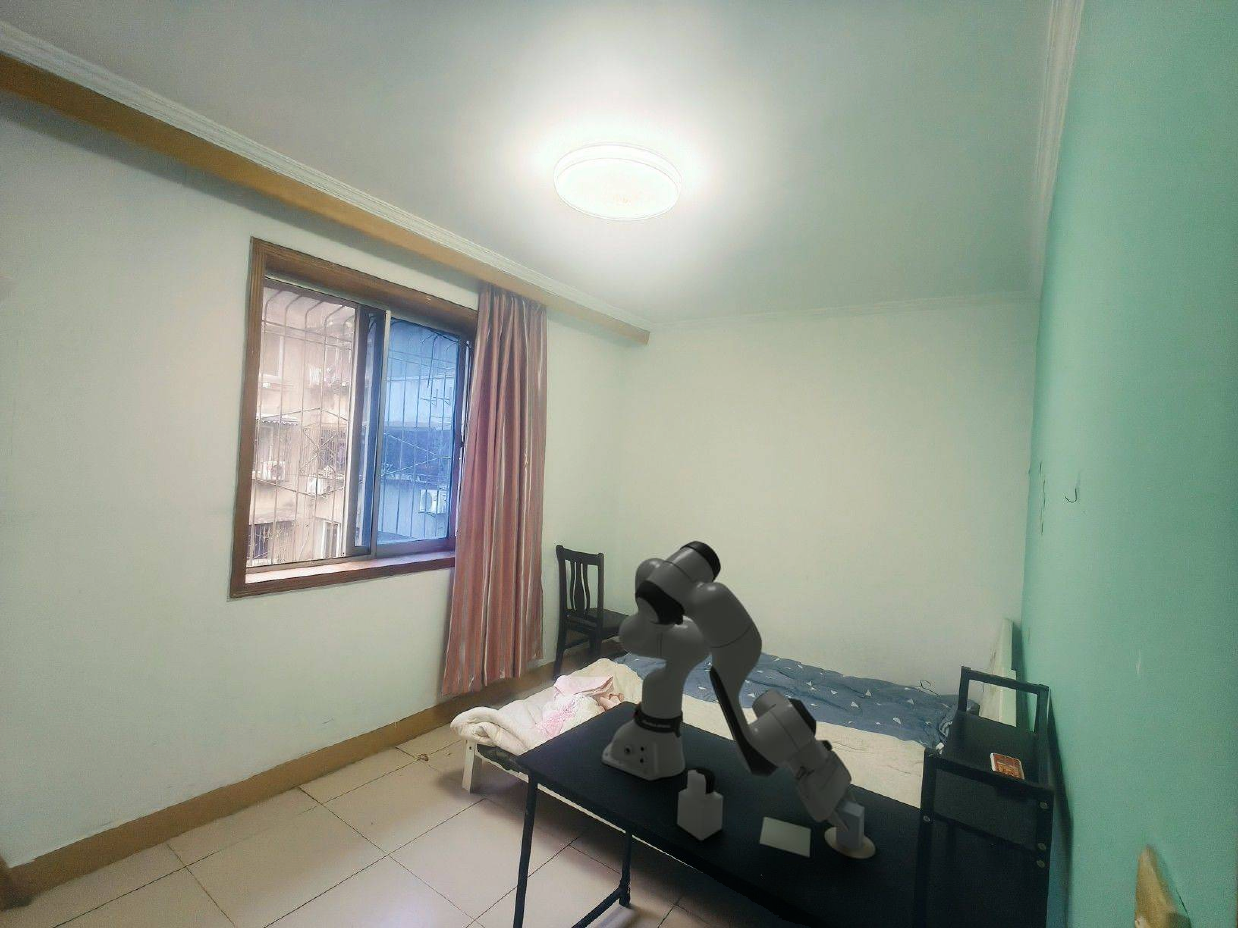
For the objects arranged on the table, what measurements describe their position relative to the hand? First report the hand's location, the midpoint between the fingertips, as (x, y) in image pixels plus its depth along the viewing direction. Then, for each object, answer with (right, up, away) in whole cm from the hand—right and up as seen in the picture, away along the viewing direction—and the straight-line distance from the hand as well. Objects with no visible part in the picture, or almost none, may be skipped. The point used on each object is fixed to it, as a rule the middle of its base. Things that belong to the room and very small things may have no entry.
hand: (851, 821), depth 115 cm
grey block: (0, -4, 0) cm, 4 cm away
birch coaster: (0, -5, 0) cm, 5 cm away
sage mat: (-14, -4, +1) cm, 15 cm away
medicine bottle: (-33, -3, +3) cm, 33 cm away
